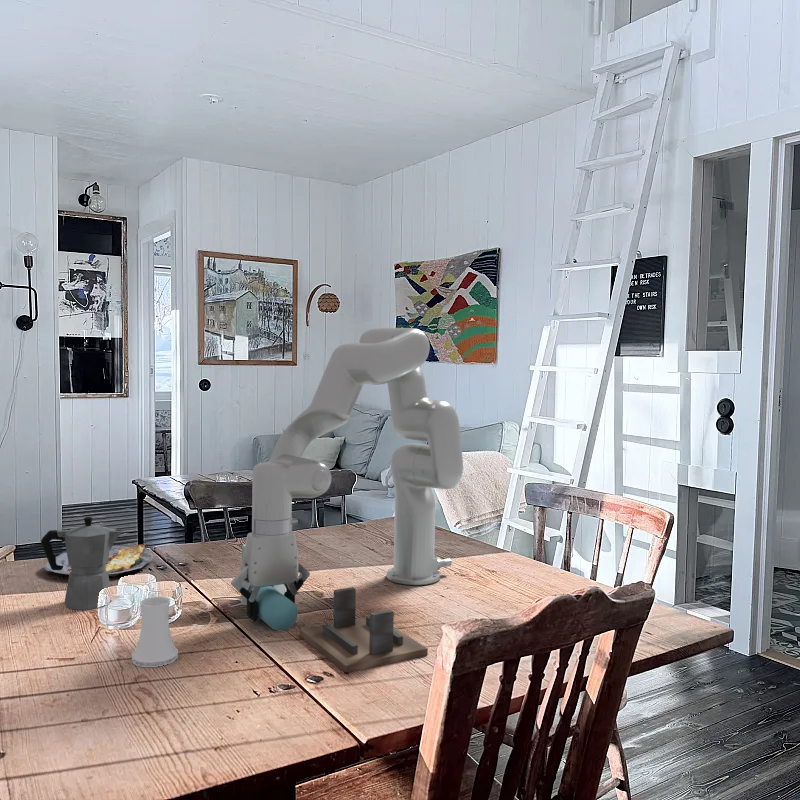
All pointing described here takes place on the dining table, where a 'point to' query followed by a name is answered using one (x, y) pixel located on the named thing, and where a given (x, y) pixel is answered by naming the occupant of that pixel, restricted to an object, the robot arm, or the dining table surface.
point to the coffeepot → (83, 561)
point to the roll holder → (361, 637)
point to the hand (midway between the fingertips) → (270, 616)
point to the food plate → (114, 560)
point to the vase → (154, 635)
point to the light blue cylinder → (276, 609)
